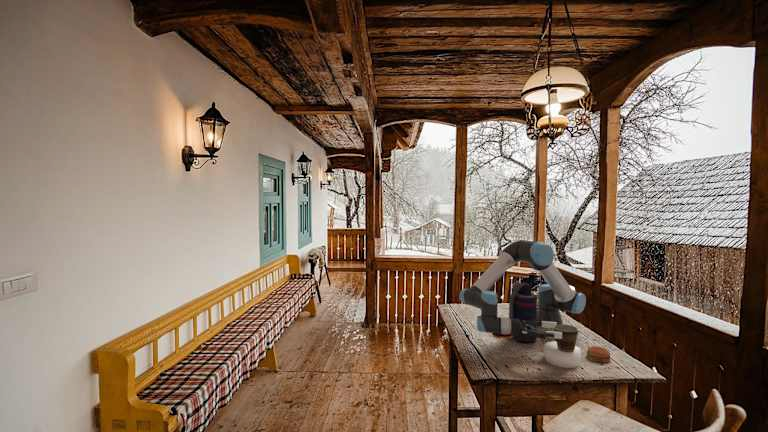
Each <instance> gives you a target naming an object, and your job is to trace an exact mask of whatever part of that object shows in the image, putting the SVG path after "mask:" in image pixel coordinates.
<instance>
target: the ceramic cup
mask: <svg viewBox="0 0 768 432" xmlns="http://www.w3.org/2000/svg"><path fill="white" fill-rule="evenodd" d="M550 331H553V332H562V339H558V338H552V339H553V340H554V341H556V342H557V347H558V350H560V351H562V352H567V353H569V352H573V351H574V350H575V346H576V345H577V344H576V343H577V339H578V335H579V328H578V327H576V326H574V325H569V324H562V325H555V326H554V328H553V329H551V330H550Z"/></svg>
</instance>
